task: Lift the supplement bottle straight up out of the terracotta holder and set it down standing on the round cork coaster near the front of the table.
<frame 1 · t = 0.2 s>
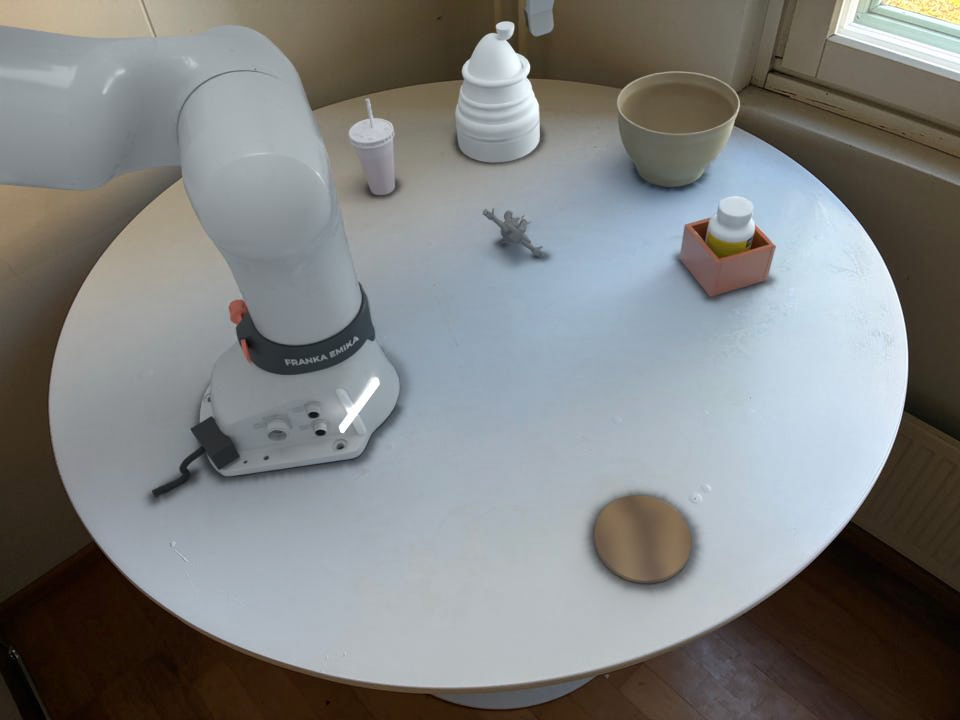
hand: (520, 6, 62), 39 cm above the table, tool pointing down, fingers open, 8 cm apart
coaster: (641, 539, 73), on the table
holder: (722, 269, 96), on the table
supplement bottle: (722, 270, 96), resting in holder
planter bowl: (668, 170, 111), on the table
grey creature figurine: (510, 246, 103), on the table
smoothie: (382, 188, 114), on the table
honey pot: (498, 140, 120), on the table
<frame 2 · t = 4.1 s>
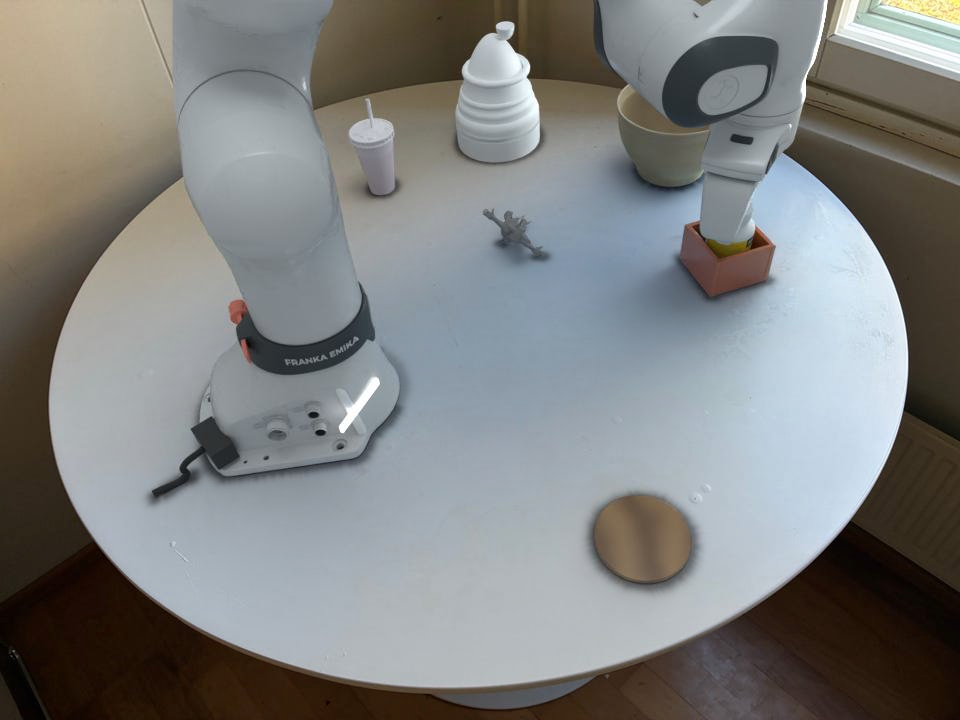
hand: (731, 224, 91), 7 cm above the table, tool pointing down, fingers closed on supplement bottle, 5 cm apart
supplement bottle: (722, 270, 96), resting in holder, touching gripper
everything else where it was.
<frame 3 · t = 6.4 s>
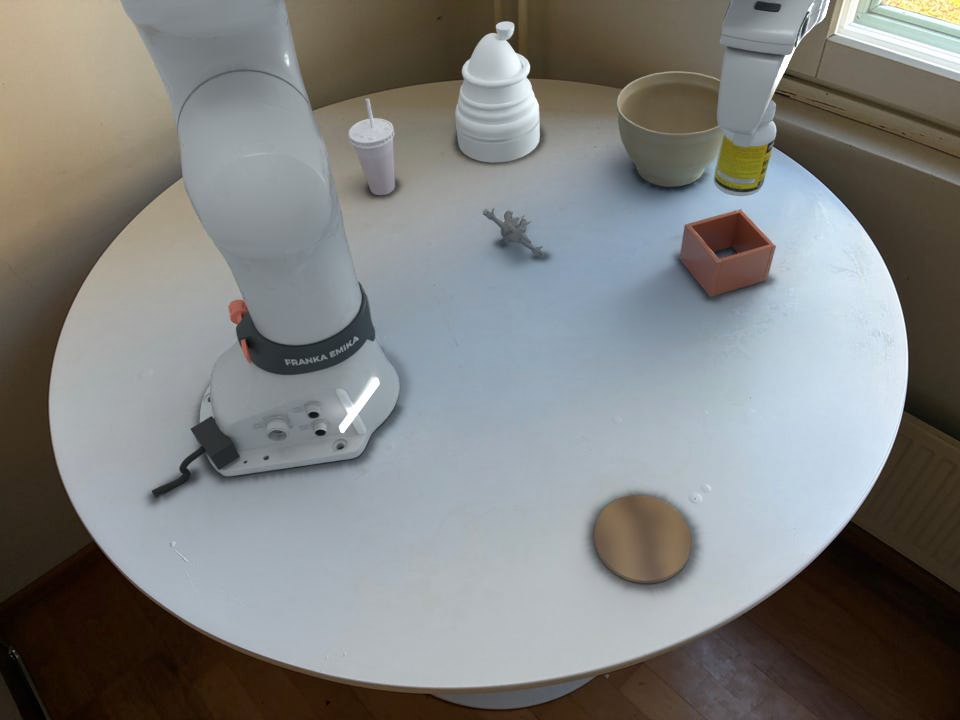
hand: (750, 126, 81), 20 cm above the table, tool pointing down, fingers closed on supplement bottle, 5 cm apart
supplement bottle: (737, 185, 86), point 13 cm above the table, touching gripper
everything else where it was.
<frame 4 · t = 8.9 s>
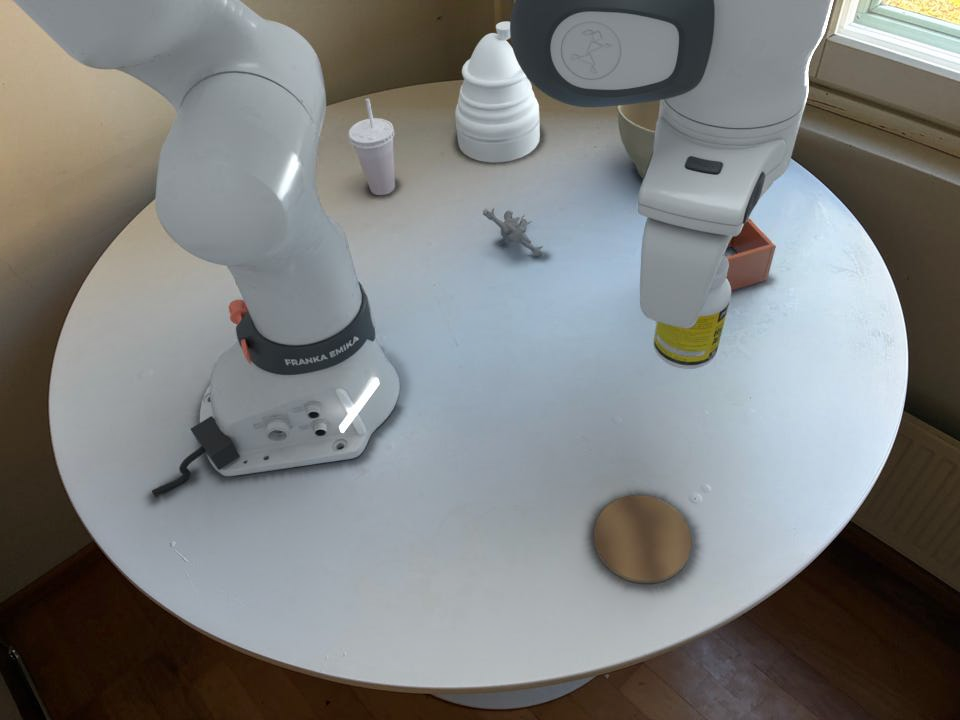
hand: (695, 286, 61), 24 cm above the table, tool pointing down, fingers closed on supplement bottle, 5 cm apart
supplement bottle: (684, 349, 66), point 17 cm above the table, touching gripper
everything else where it was.
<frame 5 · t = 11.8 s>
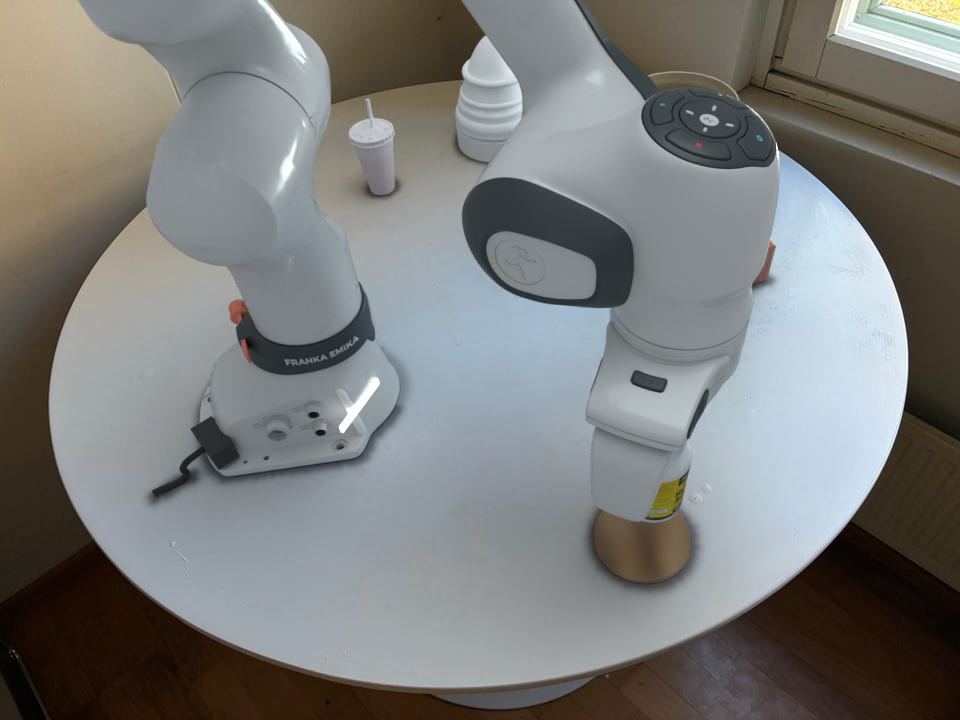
hand: (656, 450, 62), 15 cm above the table, tool pointing down, fingers closed on supplement bottle, 5 cm apart
supplement bottle: (650, 498, 67), point 7 cm above the table, touching gripper
everything else where it was.
when the fingers open (8 cm above the table, at t = 14.0 s): supplement bottle stays where it is, resting on coaster.
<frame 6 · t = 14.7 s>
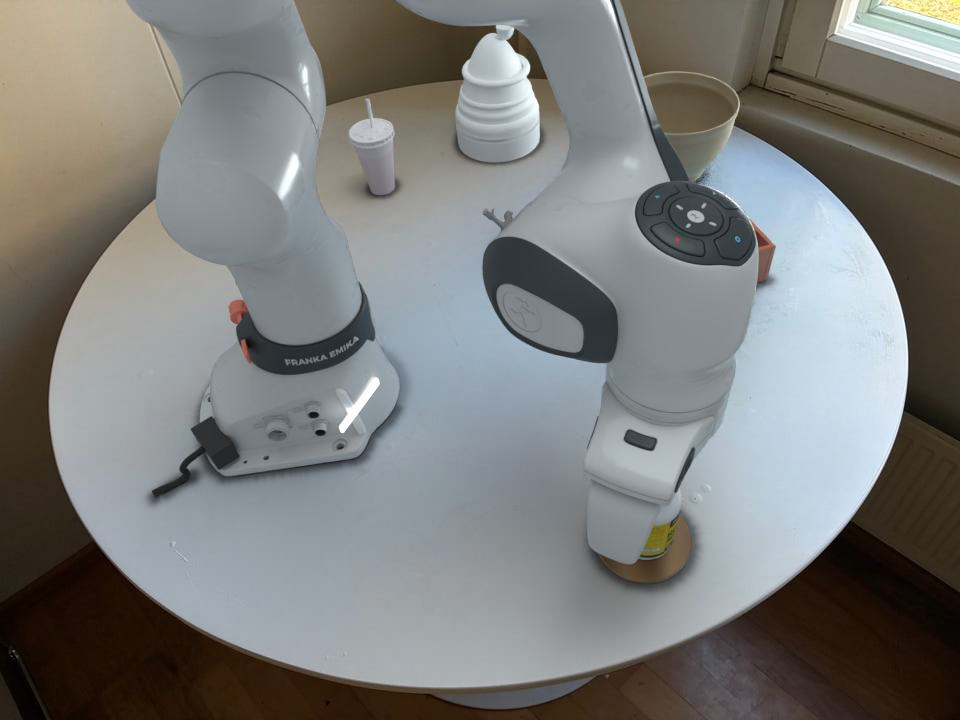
hand: (647, 491, 66), 8 cm above the table, tool pointing down, fingers open, 8 cm apart
supplement bottle: (643, 536, 72), resting on coaster
everything else where it was.
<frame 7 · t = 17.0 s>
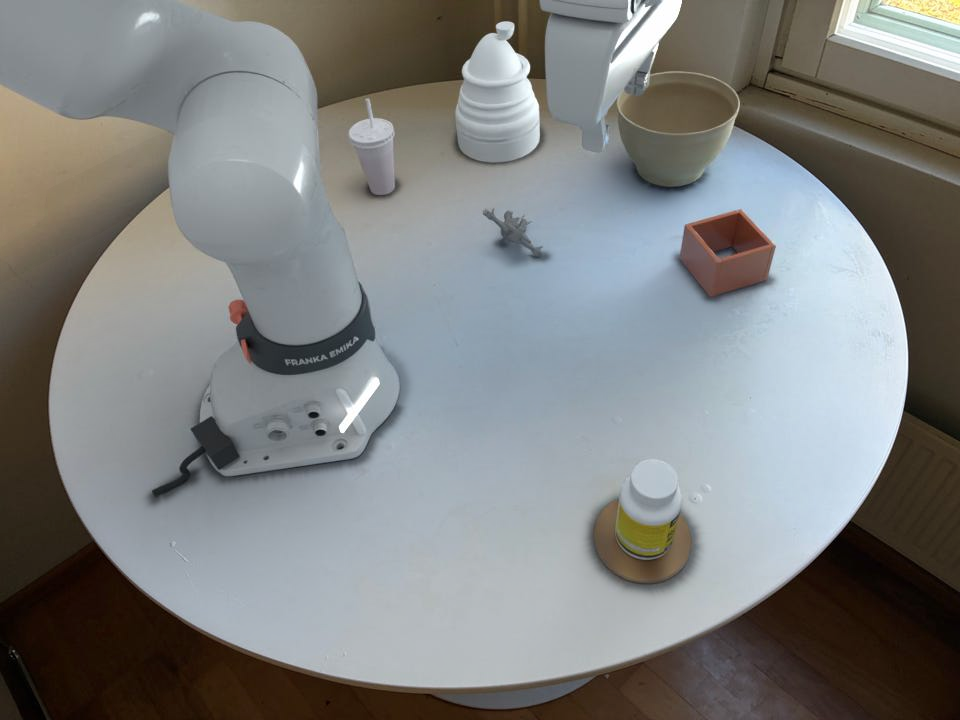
hand: (616, 117, 65), 31 cm above the table, tool pointing down, fingers open, 8 cm apart
nothing on the table moved.
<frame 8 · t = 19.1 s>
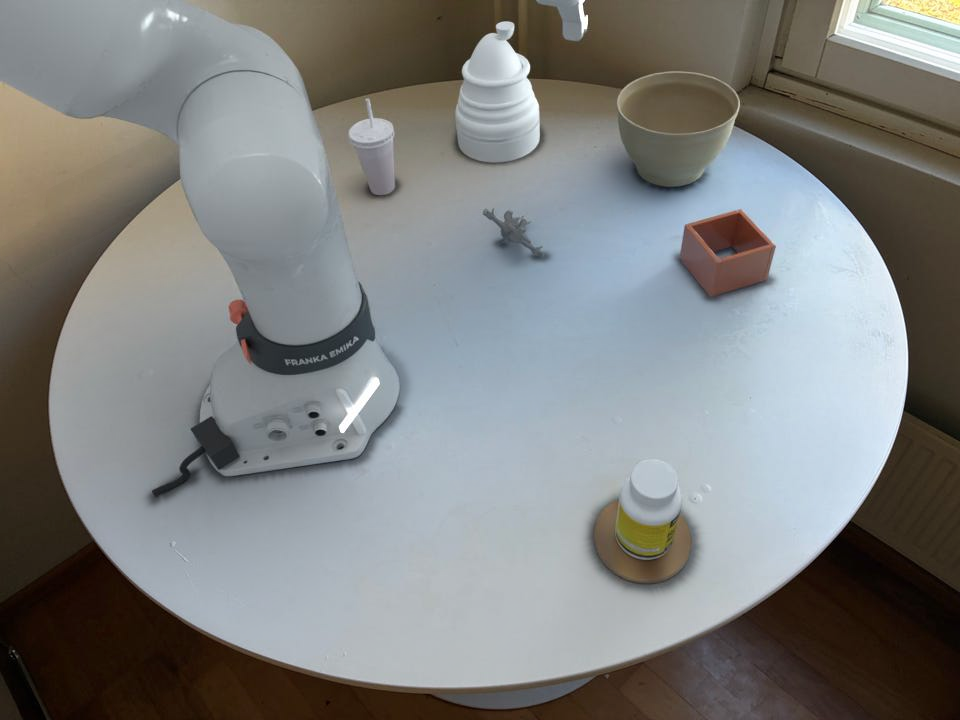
hand: (594, 14, 71), 34 cm above the table, tool pointing down, fingers open, 8 cm apart
nothing on the table moved.
at the end: supplement bottle 0.2 cm off-centre on the coaster, point 0.4 cm above the coaster's base; supplement bottle tilted 0°; supplement bottle touching coaster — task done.
